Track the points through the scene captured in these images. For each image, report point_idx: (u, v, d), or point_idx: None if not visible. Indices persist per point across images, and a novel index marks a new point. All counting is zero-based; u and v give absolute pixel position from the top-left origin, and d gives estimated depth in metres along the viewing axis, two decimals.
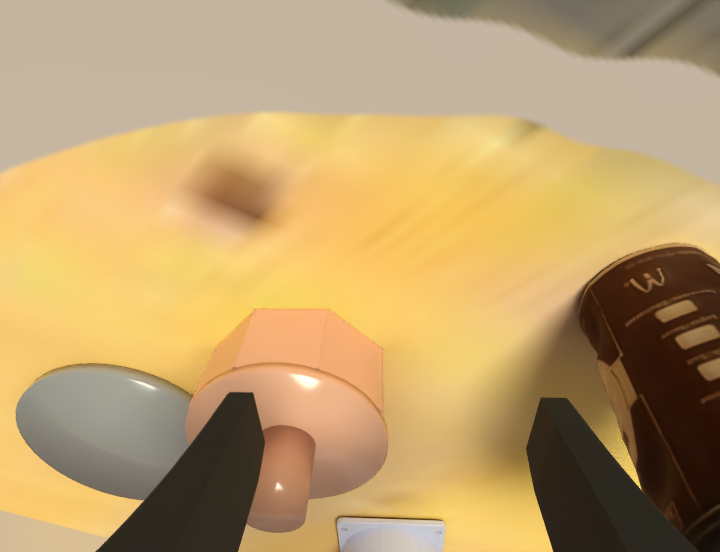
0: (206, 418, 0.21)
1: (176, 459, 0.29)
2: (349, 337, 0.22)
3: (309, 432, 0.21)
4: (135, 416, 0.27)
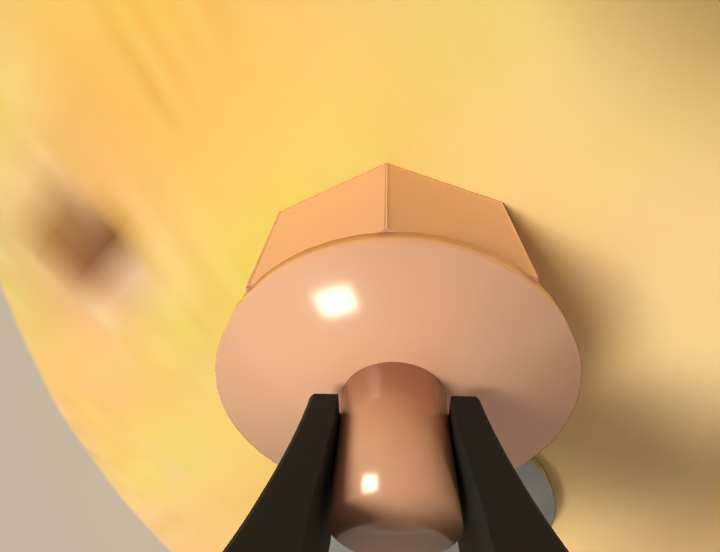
0: None
1: None
2: (317, 206, 0.13)
3: (376, 360, 0.11)
4: None
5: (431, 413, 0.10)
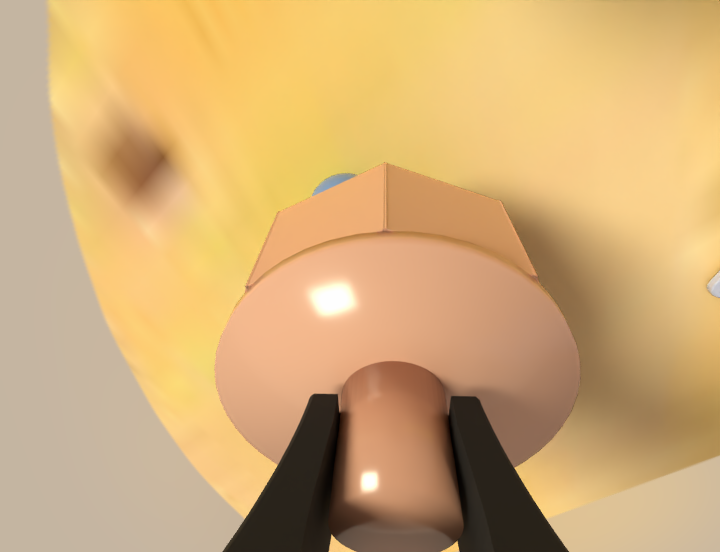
0: None
1: None
2: (316, 205, 0.13)
3: (375, 360, 0.11)
4: None
5: (431, 412, 0.10)
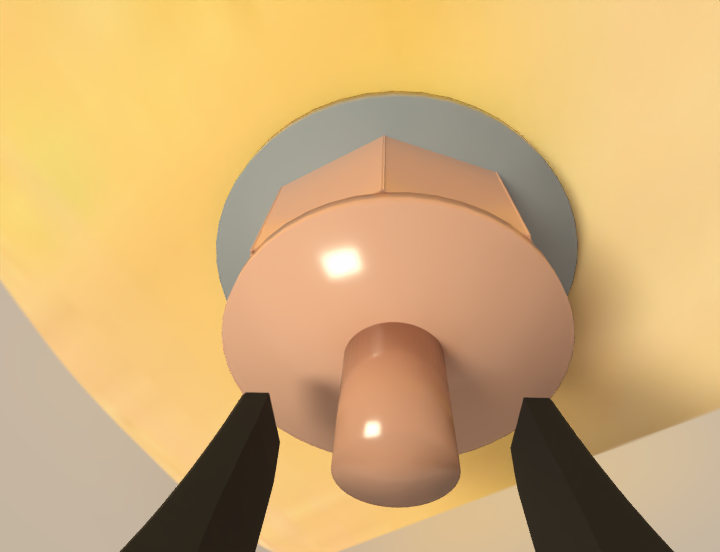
0: (303, 420, 0.14)
1: None
2: (317, 177, 0.14)
3: (376, 321, 0.12)
4: None
5: (429, 367, 0.11)
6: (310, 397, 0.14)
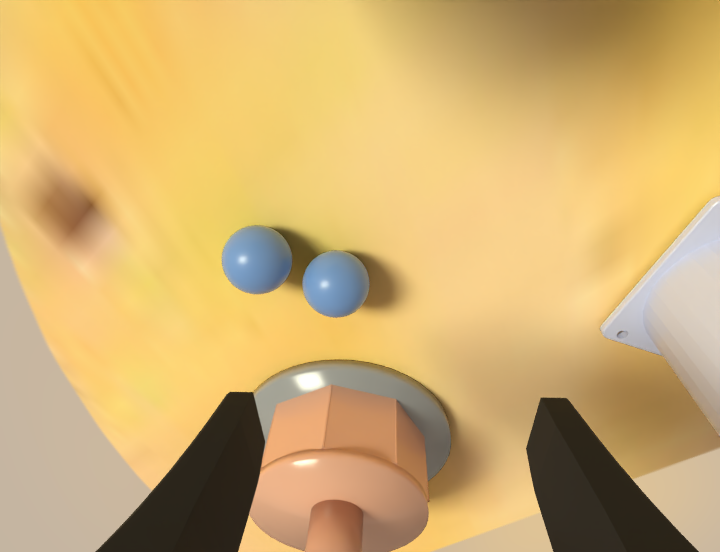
0: (292, 538, 0.26)
1: None
2: (295, 408, 0.25)
3: (325, 499, 0.23)
4: None
5: (349, 529, 0.22)
6: (295, 528, 0.25)
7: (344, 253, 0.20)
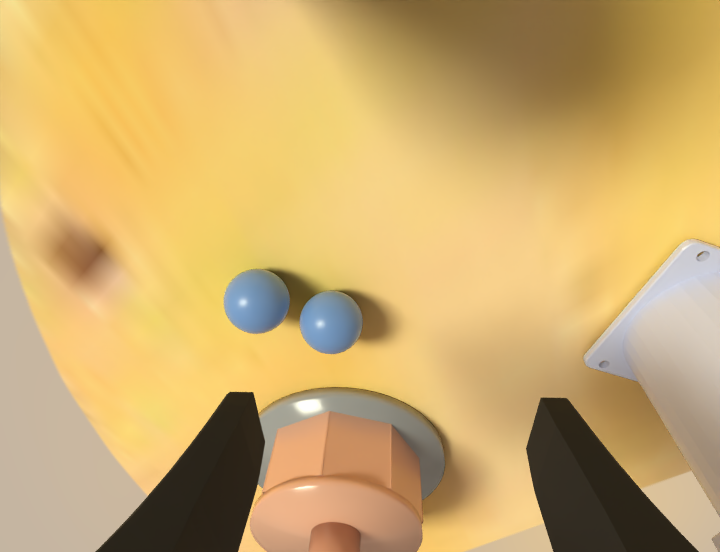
0: None
1: None
2: (295, 434, 0.26)
3: (324, 521, 0.24)
4: None
5: (346, 551, 0.23)
6: (296, 548, 0.26)
7: (338, 294, 0.21)
